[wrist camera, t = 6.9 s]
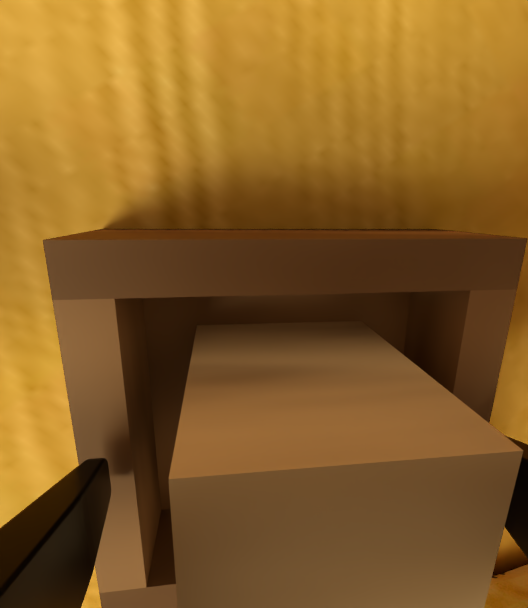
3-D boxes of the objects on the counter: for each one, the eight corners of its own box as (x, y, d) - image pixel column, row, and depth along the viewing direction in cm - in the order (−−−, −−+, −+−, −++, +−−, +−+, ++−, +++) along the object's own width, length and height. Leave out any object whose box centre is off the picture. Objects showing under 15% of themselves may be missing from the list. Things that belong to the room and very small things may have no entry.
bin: (400, 490, 14) (456, 579, 11) (134, 516, 13) (104, 625, 9) (435, 229, 11) (527, 238, 8) (101, 229, 10) (42, 239, 7)
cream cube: (348, 457, 12) (465, 683, 6) (202, 468, 11) (186, 730, 6) (361, 320, 11) (523, 450, 5) (197, 325, 10) (168, 479, 4)
